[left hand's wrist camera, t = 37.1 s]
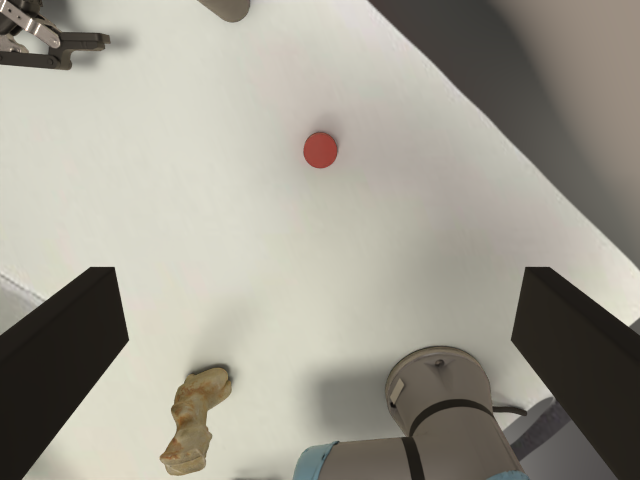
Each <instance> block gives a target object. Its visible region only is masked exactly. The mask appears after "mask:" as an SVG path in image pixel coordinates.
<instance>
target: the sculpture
mask: <svg viewBox="0 0 640 480" xmlns="http://www.w3.org/2000/svg"><path fill="white" fill-rule="evenodd" d="M231 391H232V388H231V382H230V381H229V380H228V373H227V372H226V371H225V370H224V369H222V368H212V369H209V370H207V371H204V372H202V373H200V374H197V375H195V374H190V375H189V376H187V378H186V380H185V382H184V384H183V385H181V386H180V387H179V388H178V390H177V392H176V396H175V400H174V405H173V406H172V408H171V413H172V416H173V418H174V420H175V422H176V425H177V431H176V434H175V436H174V438H173V439H172V440H171V442H170V443H169V445H168V447H167V449H166V451H165V452H164V453H163V454H162V455H161V456H160V460H161V462H162V463H164V464H165V467H166V470H167V472H168V473H169V474H170V475H177V476H179V475H185V474H189V473H192V472H196V471H200V470H202V469H203V468H204V467H205V466H206V460H205V458H206V453H207V450H208V448H209V443H210V440H211V439H212V434H211V433H210V432H208V427H207V426H206V418H207V411H208V410H210V409H211V408H213V407H214V406H216V405H218V404H219V403H221V402H222V401H223V400H225V399H226V398H227V397H228V396H229V395H230V393H231Z"/></svg>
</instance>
